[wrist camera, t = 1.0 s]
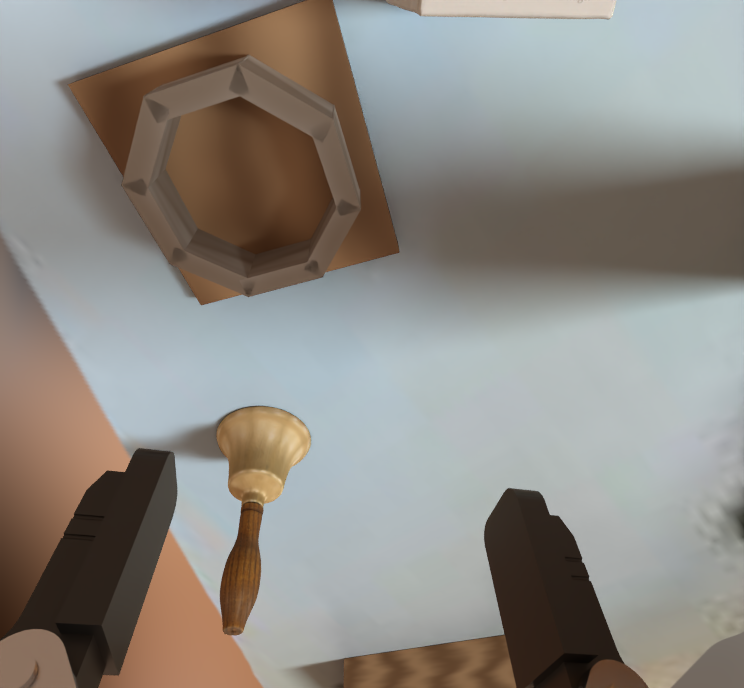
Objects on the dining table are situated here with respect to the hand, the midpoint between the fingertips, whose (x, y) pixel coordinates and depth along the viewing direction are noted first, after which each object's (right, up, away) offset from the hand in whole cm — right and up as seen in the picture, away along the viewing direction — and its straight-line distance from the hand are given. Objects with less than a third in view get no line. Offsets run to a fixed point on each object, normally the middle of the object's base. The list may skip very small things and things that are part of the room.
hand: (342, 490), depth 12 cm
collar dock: (-6, +14, +17) cm, 22 cm away
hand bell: (-9, -5, +31) cm, 33 cm away
